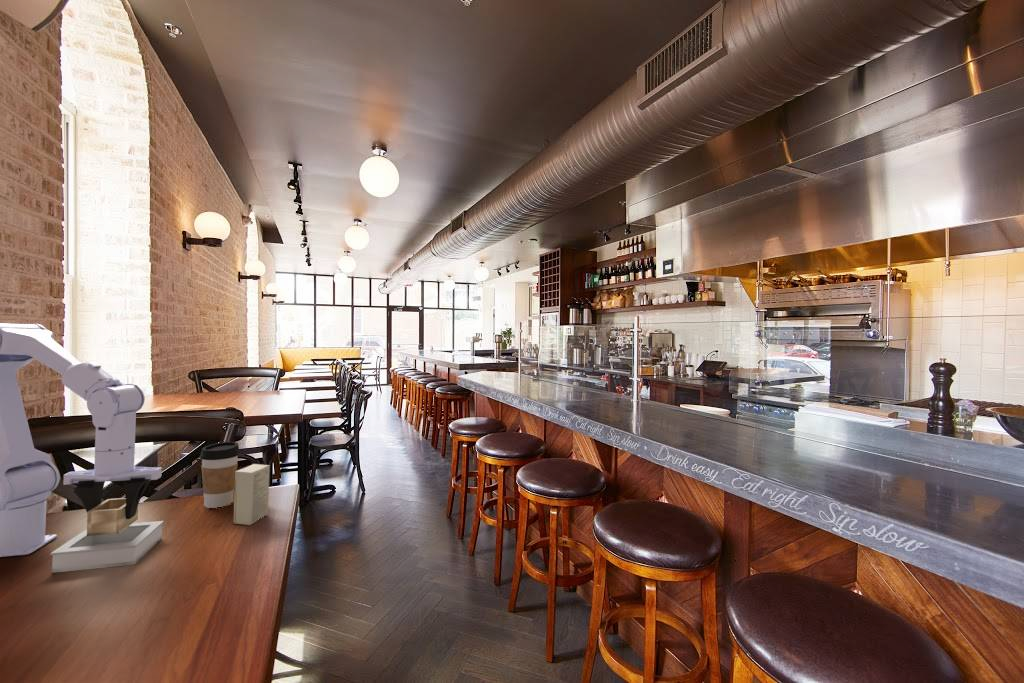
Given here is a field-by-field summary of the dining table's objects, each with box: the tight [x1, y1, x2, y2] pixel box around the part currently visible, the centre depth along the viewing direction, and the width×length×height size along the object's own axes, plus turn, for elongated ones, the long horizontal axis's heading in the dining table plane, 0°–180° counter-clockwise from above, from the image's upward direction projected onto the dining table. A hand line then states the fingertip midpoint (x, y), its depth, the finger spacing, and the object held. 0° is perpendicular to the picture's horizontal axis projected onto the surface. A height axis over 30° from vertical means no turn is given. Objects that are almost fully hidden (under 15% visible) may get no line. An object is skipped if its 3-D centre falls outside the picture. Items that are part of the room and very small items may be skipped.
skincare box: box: [232, 463, 271, 526], centre depth 102 cm, size 6×4×12 cm
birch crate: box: [86, 497, 139, 536], centre depth 84 cm, size 5×6×4 cm
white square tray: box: [50, 520, 165, 574], centre depth 84 cm, size 12×11×4 cm
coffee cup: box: [199, 441, 241, 509], centre depth 111 cm, size 8×8×15 cm
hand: (112, 518), depth 84 cm, fingers closed on birch crate, 5 cm apart
